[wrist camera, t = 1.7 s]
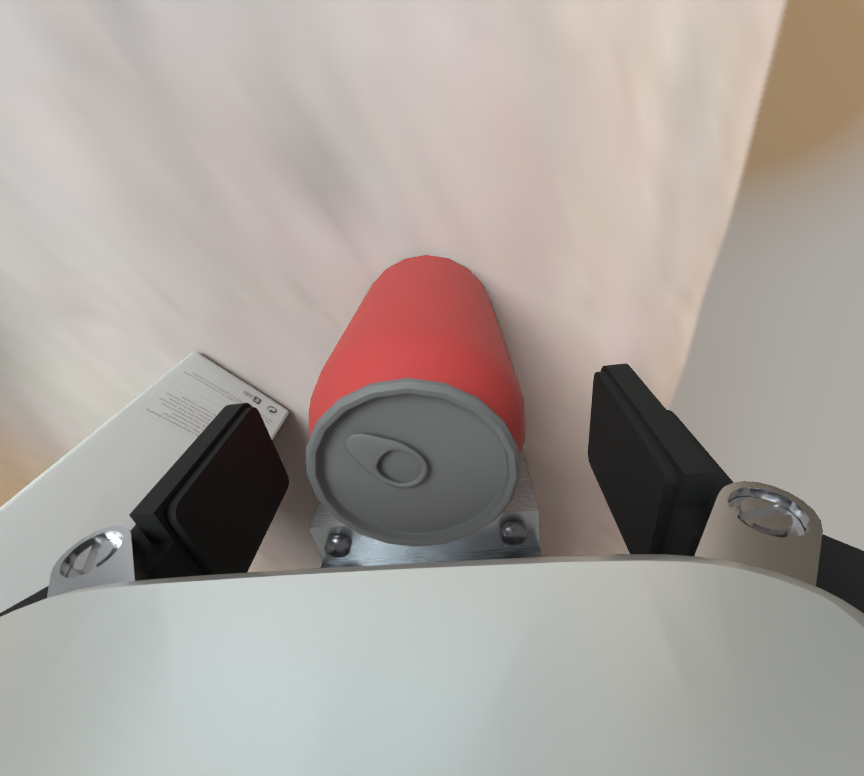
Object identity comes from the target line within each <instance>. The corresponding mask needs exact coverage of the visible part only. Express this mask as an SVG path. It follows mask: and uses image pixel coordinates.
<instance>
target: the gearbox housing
mask: <svg viewBox="0 0 864 776" xmlns="http://www.w3.org/2000/svg"><path fill="white" fill-rule="evenodd" d="M519 465H520V478H519V481H518V484H517V487H516V490H515V493H514V496H513V499H512V501H511V502H510V503H509V504H508V505H507V507H506V508H505V509H504V510H503V511H502V513H501V514H500V515H499V516H498V517H497V519H496V520H495V521H493V522H491V523H490V524H488V525H487V526H485V527H484V528H482V529H481V530H479V531H477V532H476V533H474V534H473V535H471V536H468V537H465V538H462V539H459V540H456V541H453V542H450V543H447V544H442V545H431V546H420V547H412V546H404V545H395V544H387V543H384V542H381V541H378V540H375V539H372V538H370V537H367V536H364V535H361V534H359V533H357V532H356V531H354V530H353V529H351V528H349V527H348V526H346V525H345V524H343V523H341V522H340V521H338V520H337V519H335V518H334V517H333V515H332V514H331V513H330V512H329V511H328V510H327V509H326V508H325V507H324V506H323V504H322V503H321V502H320V501H319V503H318V505H317V508H316V511H315V513H314V516H313V519H312V522H311V524H310V527H309V530H310V533H311V535H312V537H313V540H314V542H315V544H316V546H317V549H318V551H319V553H320V556H321V558H322V560H323V563H322V567H321V568H336V567H354V566H373V565H392V564H410V563H429V562H449V561H470V560H491V559H511V558H532V557H542V555H541V551H540V547H539V509H538V505H537V502H536V498H535V494H534V491H533V487H532V483H531V480H530V476H529V472H528V469H527V465H526V461H525V458H524V454H523V450H522V449H521V452H520V455H519Z"/></svg>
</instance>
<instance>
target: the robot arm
mask: <svg viewBox="0 0 864 776" xmlns="http://www.w3.org/2000/svg"><path fill="white" fill-rule="evenodd" d="M588 458H589V463H590V465H591V468H592V470H593V472H594V474H595V477H596V479H597V481H598V483H599V486H600V488H601V490H602V492H603V494H604V497H605V499H606V501H607V503H608V506H609V508H610V510H611V512H612V515H613V517H614V519H615V521H616V524H617V526H618V528H619V530H620V532H621V535H622V537H623V539H624V541H625V544H626V546H627V548H628V550H629V553H630V554H616V555H585V556H554V557H532V558H511V559H491V560H470V561H449V562H429V563H410V564H392V565H373V566H354V567H336V568H318V569H300V570H284V571H267V572H250V573H247V572H248V569H249V567H250V565H251V563H252V561H253V559H254V557H255V555H256V553H257V551H258V549H259V547H260V545H261V543H262V540H263V538H264V536H265V534H266V532H267V530H268V528H269V526H270V524H271V522H272V520H273V518H274V516H275V513H276V511H277V509H278V507H279V505H280V503H281V501H282V499H283V497H284V495H285V493H286V491H287V488H288V484H289V479H288V475H287V473H286V470H285V468H284V466H283V464H282V462H281V459H280V457H279V455H278V453H277V450H276V448H275V446H274V444H273V441H272V439H271V437H270V435H269V432H268V430H267V428H266V426H265V423H264V421H263V419H262V417H261V414H260V412H259V410H258V409H257V408H255V407H252V405H251V404H249V403H240V404H230V405H226V406H225V407H224V408H223V409H222V410H221V411H220V412H219V414H218V415H217V416H216V417H215V418H214V419H213V420H212V422H211V423H210V424H209V425H208V426H207V427H206V428H205V429H204V431H203V432H202V433H201V434H200V435H199V436H198V437H197V439H196V440H195V441H194V442H193V443H192V444H191V445H190V446H189V448H188V449H187V450H186V451H185V452H184V453H183V454H182V455H181V457H180V458H179V459H178V460H177V461H176V462H175V463H174V465H173V466H172V467H171V468H170V469H169V470H168V471H167V472H166V474H165V475H164V476H163V477H162V478H161V479H160V480H159V482H158V483H157V484H156V485H155V486H154V487H153V488H152V489H151V491H150V492H149V493H148V494H147V495H146V496H145V497H144V498H143V500H142V501H141V502H140V503H139V504H138V505H137V506H136V508H135V509H134V510H133V511H132V512H131V513H130V514H129V516H130V517H131V518H132V520H133V521H134V522H135V523H136V525H135V526H134V527H133V528H132V530H131V531H130V529H129V528H127V527H125V526H111V527H107V528H103V529H101V530H99V531H96V532H94V533H92V534H90V535H88V536H86V537H85V538H83V539H81V540H80V541H78V542H77V543H76V544H74V545H73V546H72V547H70V548H69V549H68V550H67V551H66V552H65V553H64V554H63V555H62V556H61V557H60V558H59V559H58V561H57V562H56V563H55V565H54V566H53V569H52V571H51V574H50V580H49V586H47V587H45V588H44V589H42V590H40V591H38V592H36V593H35V594H33V595H31V596H29V597H28V598H26V599H24V600H22V601H21V602H19V603H17V604H15V605H13V606H12V607H10V608H8V609H6V610H5V611H3V612H1V613H0V776H864V551H862V550H860V549H857V548H855V547H852V546H850V545H848V544H845V543H843V542H840V541H838V540H835V539H832V538H830V537H828V536H825V535H823V534H822V533H823V530H822V524H821V520H820V519H819V517H818V516H817V514H816V513H815V511H814V510H813V509H812V508H811V507H810V506H808V505H807V504H806V503H805V502H804V501H803V500H801V499H799V498H798V497H796V496H794V495H793V494H791V493H789V492H787V491H784V490H782V489H779V488H777V487H774V486H771V485H767V484H763V483H759V482H746V481H743V482H736V483H733V481H732V480H731V479H730V478H729V477H728V476H727V474H726V473H725V472H724V471H723V470H722V469H721V467H719V465H718V464H717V463H716V462H715V460H714V459H713V458H712V457H711V456H710V455H709V453H708V452H707V451H706V450H705V449H704V448H703V446H702V445H701V444H700V443H699V442H698V441H697V439H696V438H695V437H694V436H693V435H692V434H691V432H690V431H689V430H688V429H687V428H686V427H685V425H684V424H683V423H682V422H681V421H680V420H679V418H678V417H677V416H676V415H675V414H674V413H673V412H672V411H670V410H666V409H665V408H664V407H663V405H662V404H661V403H660V402H659V401H658V399H657V398H656V397H655V396H654V395H653V393H652V392H651V391H650V390H649V389H648V387H647V386H646V385H645V384H644V383H643V381H642V380H641V379H640V378H639V377H638V375H637V374H636V373H635V372H634V371H633V369H632V368H631V367H630V366H629V365H628V364H617V365H608V366H603V367H602V369H601V372H596V373H595V374H594V381H593V394H592V407H591V419H590V432H589V445H588Z"/></svg>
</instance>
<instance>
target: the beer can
mask: <svg viewBox="0 0 864 776" xmlns="http://www.w3.org/2000/svg"><path fill="white" fill-rule="evenodd" d="M524 436H525V418H524V403H523V396H522V393H521V390H520V387H519V384H518V381H517V378H516V375H515V372H514V369H513V366H512V363H511V361H510V358H509V355H508V352H507V349H506V346H505V343H504V340H503V337H502V334H501V331H500V328H499V325H498V322H497V319H496V316H495V313H494V310H493V307H492V304H491V301H490V299H489V297H488V295H487V293H486V291H485V289H484V286H483V284H482V283H481V282H480V281H479V280H478V279H477V278H476V277H475V276H474V275H473V274H472V273H471V272H470V270H469V269H468V268H466V267H464V266H462V265H460V264H458V263H456V262H454V261H452V260H450V259H448V258H442V257H435V256H429V255H424V256H419V257H413V258H407V259H404V260H402V261H400V262H398V263H397V264H395V265H393V266H391V267H389V268H387V269H386V270H385V271H384V272H383V273H382V274H381V275H380V277H379V278H378V279H377V280H376V281H375V282H374V283H373V284H372V286H371V288H370V289H369V291H368V293H367V294H366V296H365V298H364V300H363V301H362V303H361V305H360V306H359V308H358V310H357V311H356V313H355V315H354V317H353V318H352V320H351V322H350V323H349V325H348V327H347V328H346V330H345V332H344V333H343V335H342V337H341V339H340V340H339V342H338V344H337V345H336V347H335V349H334V350H333V352H332V354H331V356H330V357H329V359H328V361H327V362H326V364H325V366H324V367H323V369H322V371H321V374H320V376H319V379H318V381H317V384H316V386H315V389H314V391H313V394H312V397H311V401H310V408H309V441H308V444H307V446H306V475H307V477H308V479H309V482H310V484H311V486H312V489H313V491H314V493H315V495H316V498H317V499H318V500H319V501H320V502H321V503H322V504H323V506H324V507H325V508H326V509H327V510H328V511H329V512H330V513H331V514H332V515H333V517H334V518H335V519H337V520H338V521H340V522H341V523H343V524H345V525H346V526H348V527H349V528H351V529H353V530H354V531H356V532H357V533H359V534H361V535H364V536H367V537H370V538H372V539H375V540H378V541H381V542H384V543H387V544H395V545H404V546H412V547H420V546H431V545H442V544H447V543H450V542H453V541H456V540H459V539H462V538H465V537H468V536H471V535H473V534H474V533H476V532H477V531H479V530H481V529H482V528H484V527H485V526H487V525H488V524H490V523H491V522H493V521H495V520H496V519H497V517H498V516H499V515H500V514H501V513H502V511H503V510H504V509H505V508H506V507H507V505H508V504H509V503H510V502H511V501H512V499H513V496H514V493H515V490H516V487H517V484H518V481H519V478H520V465H519V455H520V452H521V449H522V446H523V443H524Z"/></svg>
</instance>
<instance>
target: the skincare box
mask: <svg viewBox="0 0 864 776" xmlns="http://www.w3.org/2000/svg"><path fill="white" fill-rule="evenodd" d="M240 403H249V404H251V405H252V407H255V408H257V409H258V410H259V412H260V414H261V417H262V419H263V421H264V423H265V426H266V428H267V430H268V432H269V435H270V437H271V439H272V440H273V439H274V437H275V435H276V433H277V432H278V430H279V429H280V427H281V425H282V424H283V422H284V421H285V419H286V418H287V416H288V415H289V411H288V410H287V409H285V408H284V407H282V406H281V405H279V404H278V403H276V402H275V401H273V400H272V399H270V398H269V397H267V396H265V395H264V394H262V393H261V392H259V391H258V390H256V389H255V388H253V387H252V386H250V385H248V384H247V383H245V382H244V381H242V380H240V379H239V378H237V377H236V376H234V375H232V374H231V373H229V372H228V371H226V370H225V369H223V368H221V367H220V366H218V365H217V364H215V363H214V362H212V361H210V360H209V359H207V358H205V357H204V356H202V355H200V354H199V353H197V352H191V353H190V354H189V355H188V356H186V357H185V358H184V359H183V360H182V361H180V362H179V363H178V364H177V365H175V366H174V367H173V368H172V369H171V370H169V371H168V372H167V373H166V374H164V375H163V376H162V377H161V378H159V379H158V380H157V381H156V382H155V383H153V384H152V385H151V386H150V387H148V388H147V389H146V390H145V391H144V392H142V393H141V394H140V395H139V396H138V397H136V398H135V399H134V400H133V401H132V402H130V403H129V404H128V405H127V406H125V407H124V408H123V409H122V410H120V411H119V412H118V413H117V414H115V415H114V416H113V417H112V418H110V419H109V420H108V421H107V422H105V423H104V424H103V425H102V426H100V427H99V428H98V429H97V430H95V431H94V432H93V433H92V434H90V435H89V436H88V437H87V438H86V439H85V440H83V441H82V442H81V443H80V444H78V445H77V446H76V447H75V448H73V449H72V450H71V451H69V452H68V453H67V454H66V455H65V456H63V457H62V458H61V459H60V460H58V461H57V462H56V463H55V464H54V465H52V466H51V467H50V468H49V469H47V470H46V471H45V472H43V473H42V474H41V475H40V476H39V477H37V478H36V479H35V480H34V481H32V482H31V483H30V484H29V485H28V486H26V487H25V488H24V489H23V490H21V491H20V492H19V493H18V494H16V495H15V496H14V497H13V498H11V499H10V500H9V501H8V502H7V503H5V504H4V505H3V506H2V507H0V613H1V612H3V611H5V610H6V609H8V608H10V607H12V606H13V605H15V604H17V603H19V602H21V601H22V600H24V599H26V598H28V597H29V596H31V595H33V594H35V593H36V592H38V591H40V590H42V589H44V588H45V587H47V586H49V580H50V574H51V571H52V569H53V566H54V565H55V563H56V562H57V561H58V559H59V558H60V557H61V556H62V555H63V554H64V553H65V552H66V551H67V550H68V549H69V548H70V547H72V546H73V545H74V544H76V543H77V542H78V541H80V540H81V539H83V538H85V537H86V536H88V535H90V534H92V533H94V532H96V531H99V530H101V529H103V528H107V527H111V526H125V527H127V528H129V529H130V531H131V530H132V528H133V527H134V526H135V525H136V523H135V522H134V521H133V520H132V518H131V517H130V516H129V514H130V513H131V512H132V511H133V510H134V509H135V508H136V506H137V505H138V504H139V503H140V502H141V501H142V500H143V498H144V497H145V496H146V495H147V494H148V493H149V492H150V491H151V489H152V488H153V487H154V486H155V485H156V484H157V483H158V482H159V480H160V479H161V478H162V477H163V476H164V475H165V474H166V472H167V471H168V470H169V469H170V468H171V467H172V466H173V465H174V463H175V462H176V461H177V460H178V459H179V458H180V457H181V455H182V454H183V453H184V452H185V451H186V450H187V449H188V448H189V446H190V445H191V444H192V443H193V442H194V441H195V440H196V439H197V437H198V436H199V435H200V434H201V433H202V432H203V431H204V429H205V428H206V427H207V426H208V425H209V424H210V423H211V422H212V420H213V419H214V418H215V417H216V416H217V415H218V414H219V412H220V411H221V410H222V409H223V408H224V407H225V406H226V405H230V404H240Z"/></svg>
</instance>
